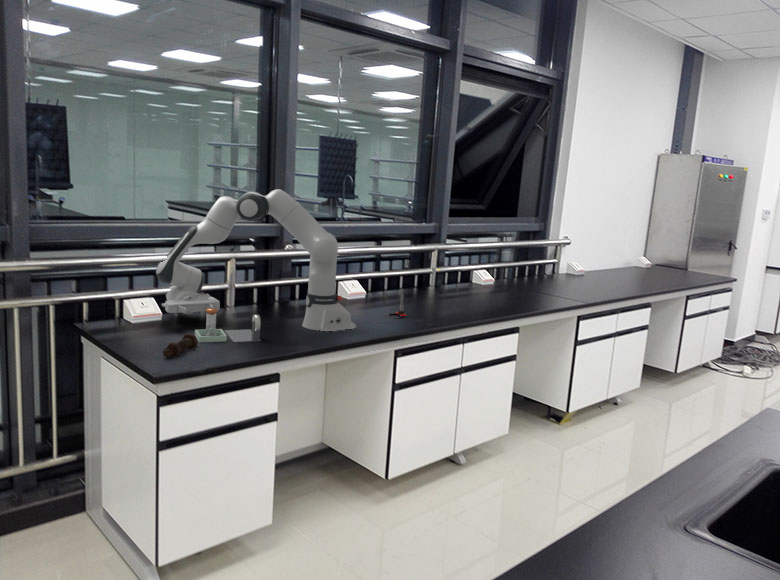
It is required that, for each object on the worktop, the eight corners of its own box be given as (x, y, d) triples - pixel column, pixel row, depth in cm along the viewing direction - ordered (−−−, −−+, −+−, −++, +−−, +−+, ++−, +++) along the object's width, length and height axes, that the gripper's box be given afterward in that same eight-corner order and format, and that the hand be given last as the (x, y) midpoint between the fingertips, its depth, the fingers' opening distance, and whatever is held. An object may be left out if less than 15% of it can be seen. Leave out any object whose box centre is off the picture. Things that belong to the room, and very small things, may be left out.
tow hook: (391, 320, 284) (408, 318, 289) (393, 292, 281) (409, 290, 287) (381, 316, 291) (397, 314, 296) (382, 289, 288) (398, 287, 293)
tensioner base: (250, 331, 243) (251, 306, 241) (260, 343, 229) (262, 316, 227) (224, 332, 238) (225, 307, 236) (233, 344, 224) (234, 317, 222)
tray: (221, 336, 233) (221, 328, 232) (226, 343, 224) (226, 335, 224) (194, 337, 228) (194, 329, 228) (199, 345, 220) (199, 336, 220)
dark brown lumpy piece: (164, 364, 203) (189, 350, 217) (176, 358, 202) (200, 345, 216) (156, 348, 203) (181, 336, 217) (168, 342, 201) (193, 330, 215)
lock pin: (214, 336, 229) (215, 307, 227) (217, 339, 225) (218, 310, 223) (203, 337, 227) (204, 308, 225) (205, 340, 224) (206, 310, 222)
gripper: (160, 295, 238) (171, 303, 227) (212, 293, 250) (225, 300, 240) (159, 311, 239) (171, 320, 229) (211, 308, 252) (224, 316, 241)
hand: (199, 310), depth 234 cm, fingers open, 8 cm apart
